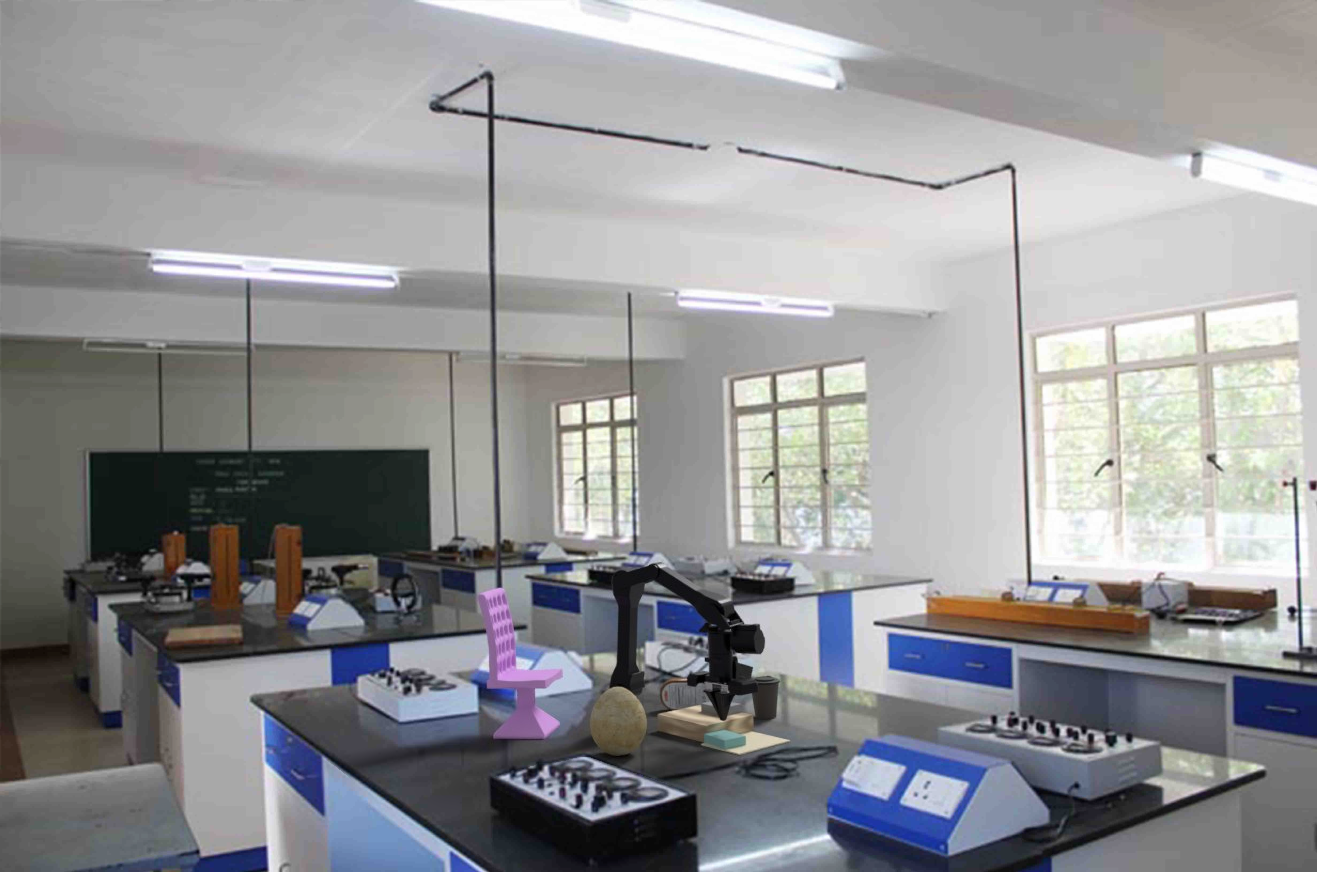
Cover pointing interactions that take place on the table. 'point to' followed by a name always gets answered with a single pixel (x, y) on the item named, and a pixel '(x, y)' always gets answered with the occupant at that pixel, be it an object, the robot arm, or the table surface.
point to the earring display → (514, 672)
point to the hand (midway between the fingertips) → (723, 720)
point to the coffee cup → (766, 697)
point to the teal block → (725, 739)
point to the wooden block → (702, 723)
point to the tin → (681, 694)
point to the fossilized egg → (618, 722)
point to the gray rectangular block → (709, 708)
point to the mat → (753, 743)
